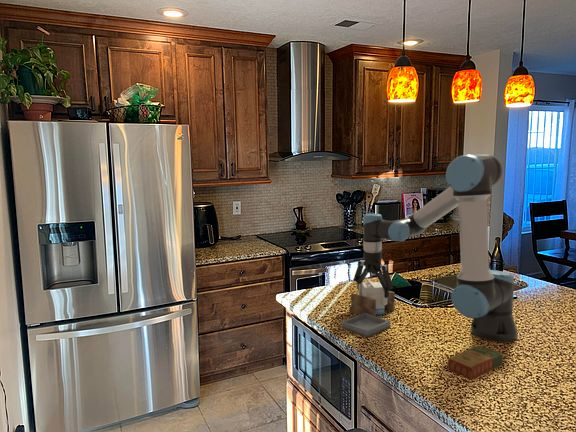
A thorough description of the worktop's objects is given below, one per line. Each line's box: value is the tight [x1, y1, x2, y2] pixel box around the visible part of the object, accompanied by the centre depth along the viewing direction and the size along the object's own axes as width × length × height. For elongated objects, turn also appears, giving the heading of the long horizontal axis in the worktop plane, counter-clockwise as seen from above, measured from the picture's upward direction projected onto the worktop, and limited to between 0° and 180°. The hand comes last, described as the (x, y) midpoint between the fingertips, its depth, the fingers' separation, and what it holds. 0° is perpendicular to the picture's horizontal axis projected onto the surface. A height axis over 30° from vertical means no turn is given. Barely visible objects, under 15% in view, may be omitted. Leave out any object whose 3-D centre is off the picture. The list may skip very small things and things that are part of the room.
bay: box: [348, 290, 396, 317], centre depth 181 cm, size 13×14×8 cm
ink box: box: [362, 278, 386, 315], centre depth 180 cm, size 9×8×13 cm
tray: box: [341, 313, 391, 338], centre depth 164 cm, size 13×14×2 cm
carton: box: [447, 344, 504, 381], centre depth 131 cm, size 8×16×4 cm, turn 124°
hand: (372, 301), depth 181 cm, fingers closed on ink box, 11 cm apart
